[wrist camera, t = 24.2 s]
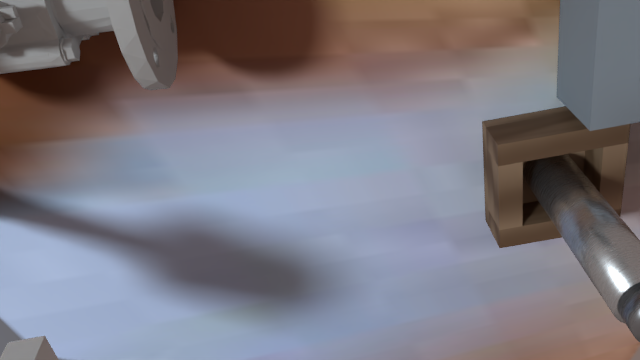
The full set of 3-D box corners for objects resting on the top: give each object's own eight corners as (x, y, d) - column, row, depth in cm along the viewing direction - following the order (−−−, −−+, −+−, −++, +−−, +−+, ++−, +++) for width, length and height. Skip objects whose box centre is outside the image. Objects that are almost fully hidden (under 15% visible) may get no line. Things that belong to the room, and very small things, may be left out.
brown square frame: (482, 121, 50) (497, 145, 46) (605, 99, 49) (630, 120, 46) (485, 220, 55) (499, 248, 51) (597, 200, 55) (619, 227, 51)
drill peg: (524, 152, 50) (632, 304, 35) (572, 144, 50) (703, 293, 35) (522, 192, 52) (624, 353, 37) (569, 185, 52) (691, 343, 37)
